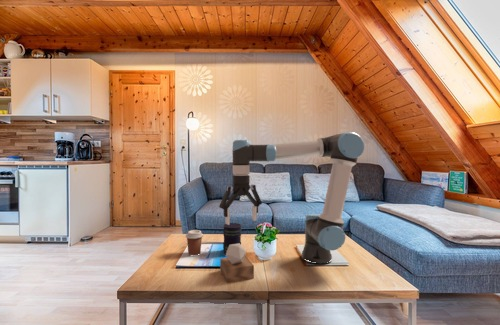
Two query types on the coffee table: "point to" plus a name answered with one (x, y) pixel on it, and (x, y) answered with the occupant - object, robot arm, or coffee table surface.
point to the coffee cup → (194, 242)
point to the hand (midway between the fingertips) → (241, 222)
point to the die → (235, 253)
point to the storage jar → (231, 235)
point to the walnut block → (236, 270)
